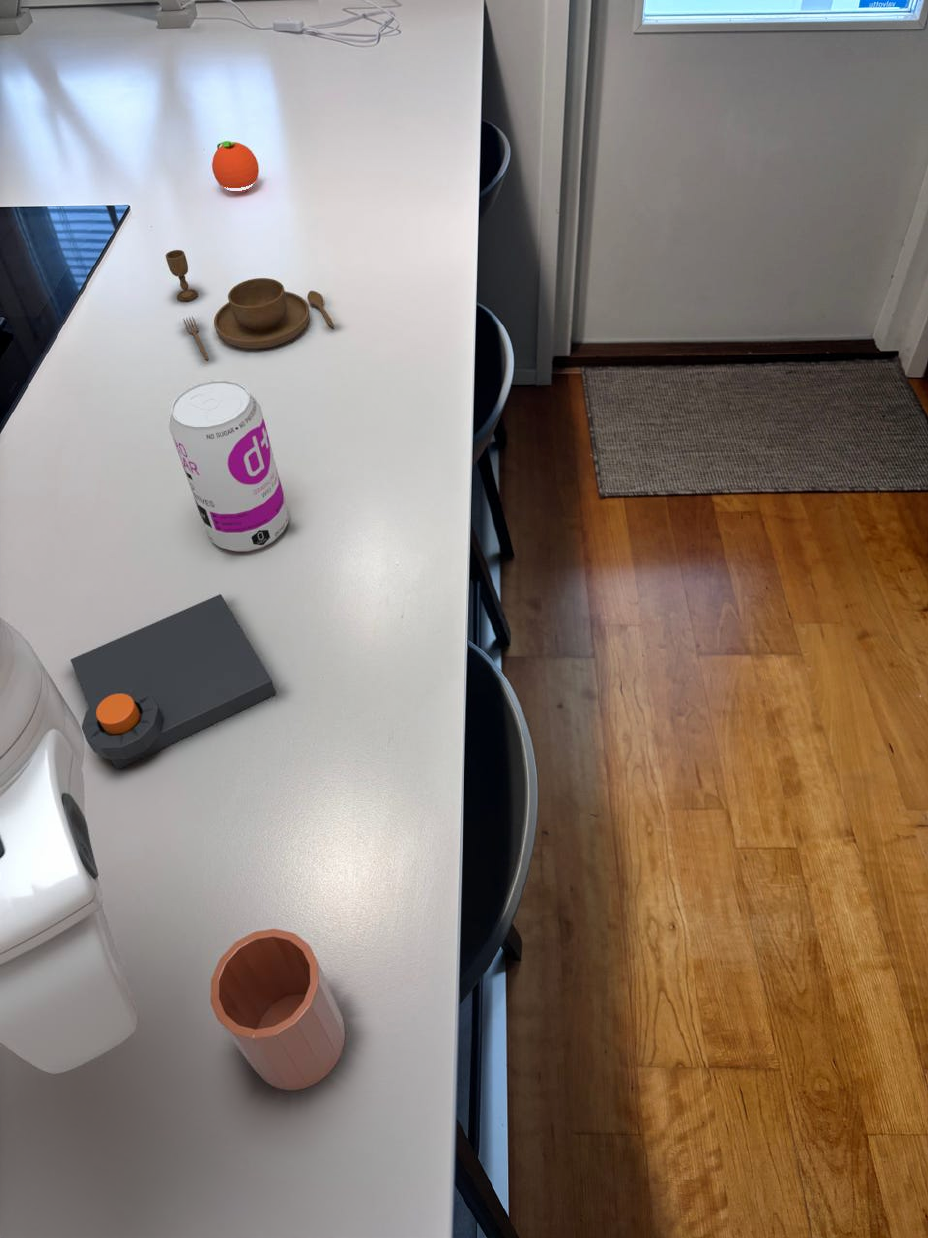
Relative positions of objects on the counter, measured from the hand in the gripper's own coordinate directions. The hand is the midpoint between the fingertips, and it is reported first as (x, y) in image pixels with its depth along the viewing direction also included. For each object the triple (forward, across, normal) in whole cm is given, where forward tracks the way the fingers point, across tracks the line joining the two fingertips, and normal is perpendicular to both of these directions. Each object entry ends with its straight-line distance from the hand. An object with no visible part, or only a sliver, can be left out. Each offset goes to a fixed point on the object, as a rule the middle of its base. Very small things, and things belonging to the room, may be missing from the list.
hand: (83, 908), depth 47 cm
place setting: (+20, -83, +37) cm, 93 cm away
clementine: (+20, -119, +48) cm, 130 cm away
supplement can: (+20, -45, +21) cm, 53 cm away
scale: (+20, -30, +9) cm, 37 cm away
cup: (+20, +4, +6) cm, 21 cm away
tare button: (+17, -25, +4) cm, 31 cm away
